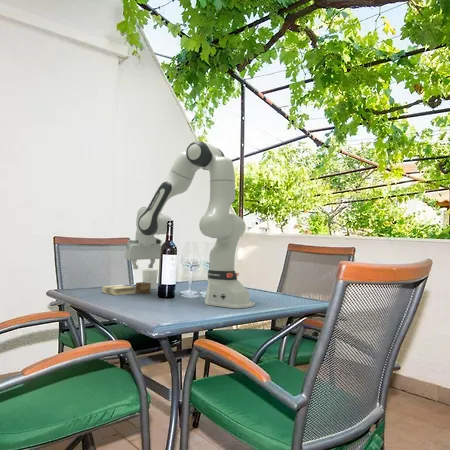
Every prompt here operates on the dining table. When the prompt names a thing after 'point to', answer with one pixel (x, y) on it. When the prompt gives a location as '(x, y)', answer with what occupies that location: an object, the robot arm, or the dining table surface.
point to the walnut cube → (143, 287)
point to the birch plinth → (118, 289)
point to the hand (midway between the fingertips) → (143, 268)
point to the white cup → (150, 277)
